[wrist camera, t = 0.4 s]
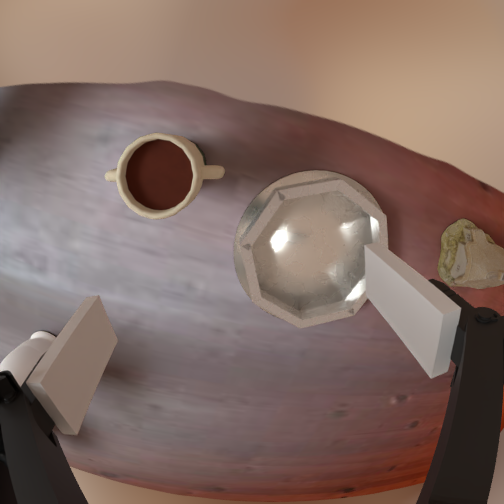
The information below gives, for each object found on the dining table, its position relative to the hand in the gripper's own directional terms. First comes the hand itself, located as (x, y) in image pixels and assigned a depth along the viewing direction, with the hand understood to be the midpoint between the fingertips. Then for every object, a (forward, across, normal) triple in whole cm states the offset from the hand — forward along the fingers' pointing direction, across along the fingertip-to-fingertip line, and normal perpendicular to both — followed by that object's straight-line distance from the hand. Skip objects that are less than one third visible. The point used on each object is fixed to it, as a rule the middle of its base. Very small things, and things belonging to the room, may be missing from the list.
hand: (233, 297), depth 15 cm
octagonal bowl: (+25, +10, -9) cm, 28 cm away
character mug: (+25, -5, +5) cm, 26 cm away
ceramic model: (+25, +36, -14) cm, 46 cm away
